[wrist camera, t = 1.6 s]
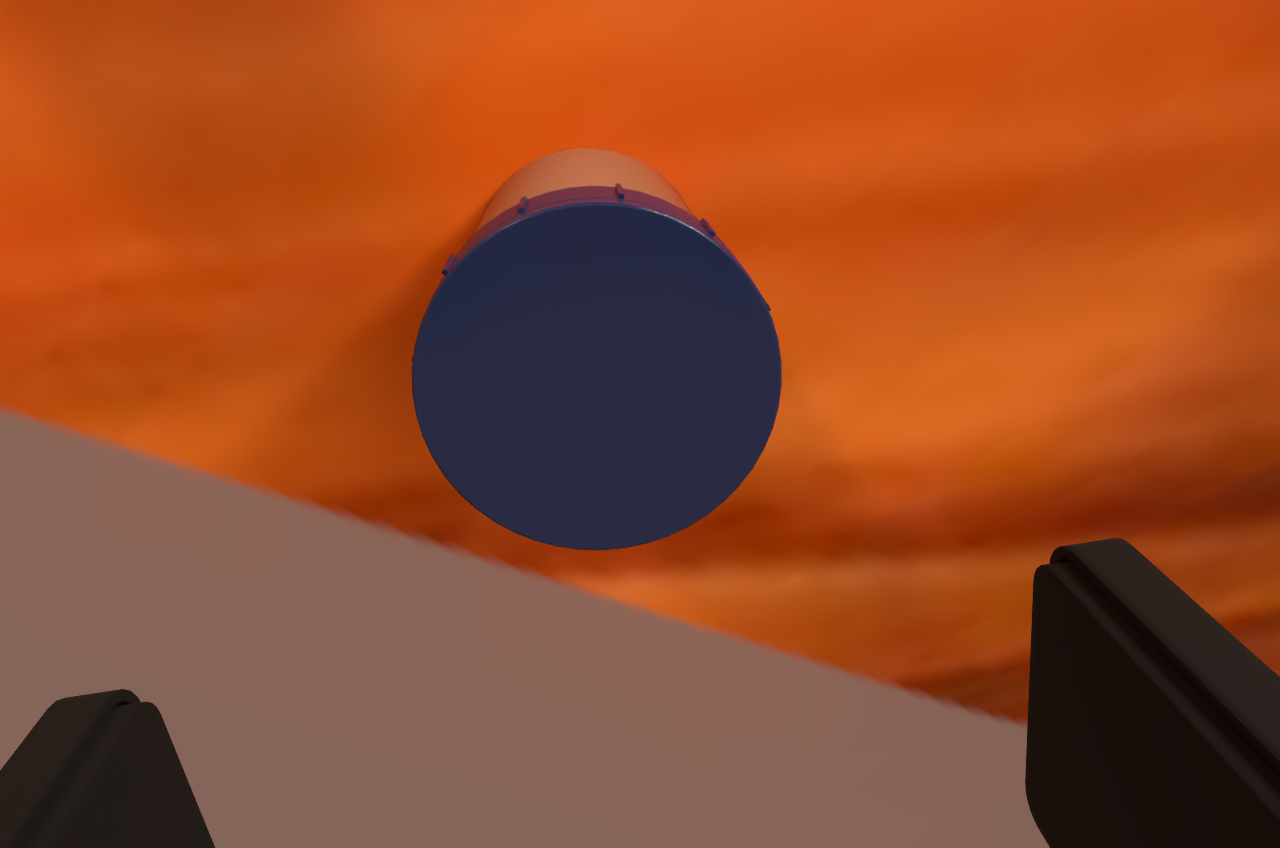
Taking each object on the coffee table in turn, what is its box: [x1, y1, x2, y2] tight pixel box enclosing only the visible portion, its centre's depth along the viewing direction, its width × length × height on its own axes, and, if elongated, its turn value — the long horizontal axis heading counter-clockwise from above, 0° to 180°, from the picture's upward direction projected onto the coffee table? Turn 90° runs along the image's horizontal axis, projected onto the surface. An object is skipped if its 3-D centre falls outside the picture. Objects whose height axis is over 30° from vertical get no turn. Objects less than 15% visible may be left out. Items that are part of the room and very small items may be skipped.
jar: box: [473, 148, 696, 235], centre depth 23 cm, size 7×7×10 cm
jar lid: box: [412, 183, 782, 550], centre depth 19 cm, size 7×7×2 cm
